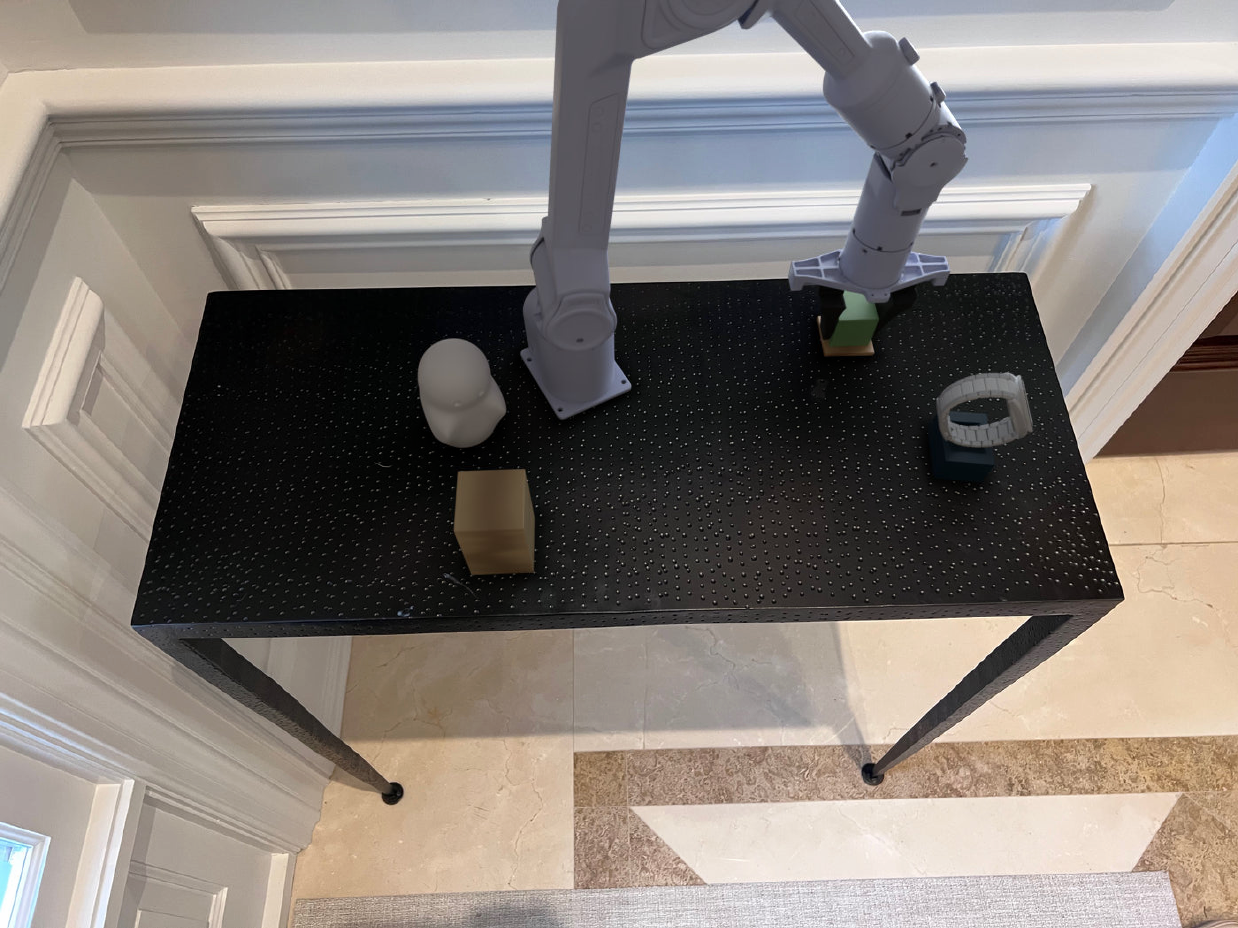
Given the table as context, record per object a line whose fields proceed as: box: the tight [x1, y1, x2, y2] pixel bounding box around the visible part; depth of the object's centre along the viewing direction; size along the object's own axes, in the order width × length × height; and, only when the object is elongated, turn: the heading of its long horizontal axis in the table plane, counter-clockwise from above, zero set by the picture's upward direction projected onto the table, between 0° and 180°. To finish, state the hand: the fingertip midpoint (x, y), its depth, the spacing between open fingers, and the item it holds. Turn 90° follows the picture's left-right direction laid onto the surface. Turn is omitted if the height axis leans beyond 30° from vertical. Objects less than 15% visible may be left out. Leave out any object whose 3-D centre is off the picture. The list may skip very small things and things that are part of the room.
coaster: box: [816, 315, 875, 357], centre depth 81 cm, size 5×5×1 cm
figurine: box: [417, 338, 507, 449], centre depth 71 cm, size 7×8×12 cm
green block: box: [828, 290, 879, 347], centre depth 80 cm, size 4×4×4 cm
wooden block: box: [453, 468, 536, 576], centre depth 66 cm, size 5×5×8 cm
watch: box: [927, 372, 1034, 483], centre depth 69 cm, size 6×8×11 cm
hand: (846, 331), depth 81 cm, fingers closed on green block, 4 cm apart
